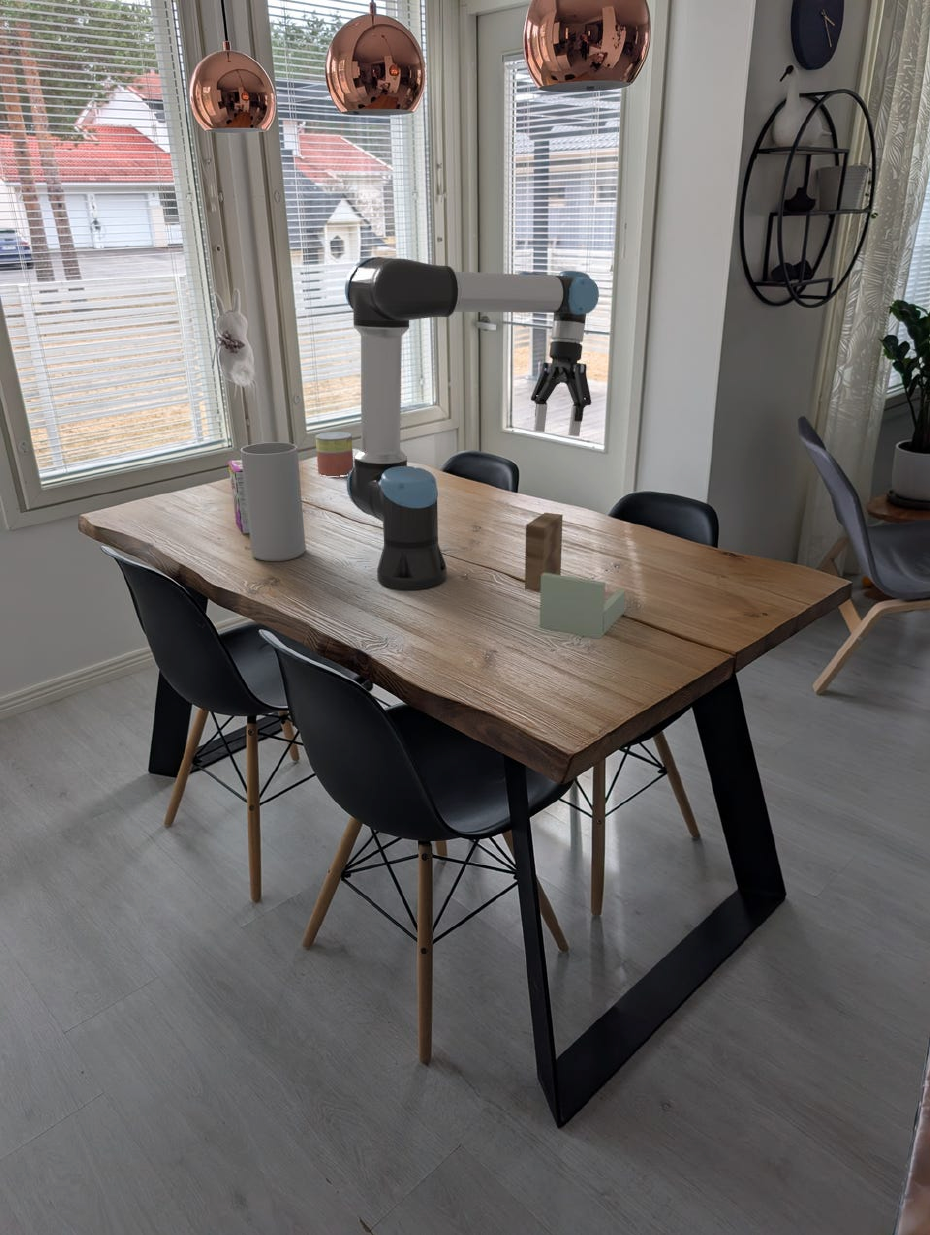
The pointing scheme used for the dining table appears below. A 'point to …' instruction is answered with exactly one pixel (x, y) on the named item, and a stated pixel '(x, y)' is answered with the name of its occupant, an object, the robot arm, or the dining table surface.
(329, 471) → the canned food
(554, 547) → the walnut block
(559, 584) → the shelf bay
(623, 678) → the dining table surface
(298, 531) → the cylinder vase
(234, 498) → the candy bar box
